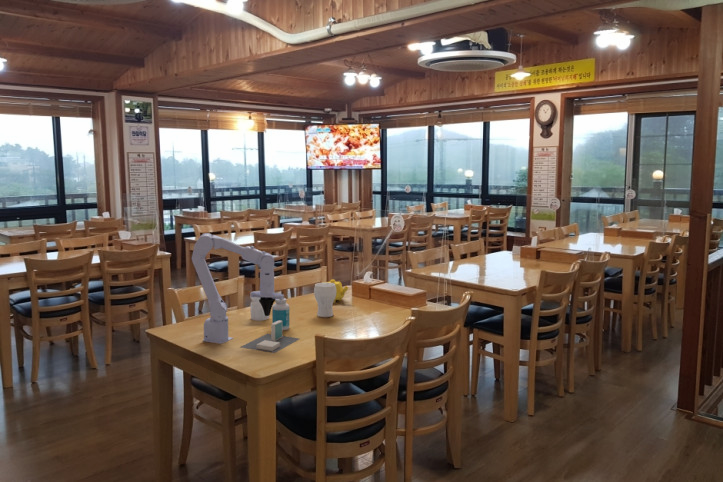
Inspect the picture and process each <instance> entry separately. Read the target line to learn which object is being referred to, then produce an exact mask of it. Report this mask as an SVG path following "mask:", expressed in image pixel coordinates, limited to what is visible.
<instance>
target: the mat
mask: <svg viewBox="0 0 723 482" xmlns="http://www.w3.org/2000/svg"><path fill="white" fill-rule="evenodd" d="M264 340H267V341H271V333H266V334H263V335H261V336H260V337H258V338H255V339H254V340H252V341H249V342H247V343H245V344H243V345H241V346H240V348H242V349H249V350H254V351H259V352H265V353H270V354H271V353H273V354H276V353H278V352H279V351H281V350H283V349H285V348H286V347H288V346H290V345H292V344H293V343H295V342H297V341H299V340H301V338H298V337H294V336H293V337H292V336H286V335H282V338H280V339H278V340H276V341H273V342H280V347H278V348H276V349H275V350H273V351H269V350H263V349H257V344H258V343H260V342H262V341H264Z"/></svg>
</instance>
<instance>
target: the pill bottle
mask: <svg viewBox="0 0 723 482" xmlns="http://www.w3.org/2000/svg"><path fill="white" fill-rule="evenodd" d="M271 312H272V313H271V316H272V319H271V320H272V323H274V322H276V321H279V320H280V321H282V331H287V330H289V329H290V304H289V303H287V298H285V297H284V299H283V300H279V299H275V301H274V303H273V306H272V308H271ZM272 323H271V324H272Z"/></svg>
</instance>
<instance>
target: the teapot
mask: <svg viewBox="0 0 723 482" xmlns="http://www.w3.org/2000/svg"><path fill="white" fill-rule="evenodd" d="M327 283H334V284H335V286H336V297H335V299H334V301H333V304H335V303H337V302H336V301H339V302H340V301H343V300H342V299H343V298H344V297H345V295H346V292H347V291H348V290H349V287H348V285H345V286H344V287H343V283H342V282H341V281H336V279H330V281H327Z"/></svg>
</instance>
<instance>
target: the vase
mask: <svg viewBox="0 0 723 482" xmlns="http://www.w3.org/2000/svg"><path fill="white" fill-rule="evenodd" d="M253 292H260V290H256V291H253ZM249 293H250V295H249V296H250V300H251V301H250V306H249V307H250V319H251V320H253V321H266V320H269V319H270V315H269V316H265V314H264V310H263V308H262V305H261V304H260V302H259V299H260V297H251V292H249Z"/></svg>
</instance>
